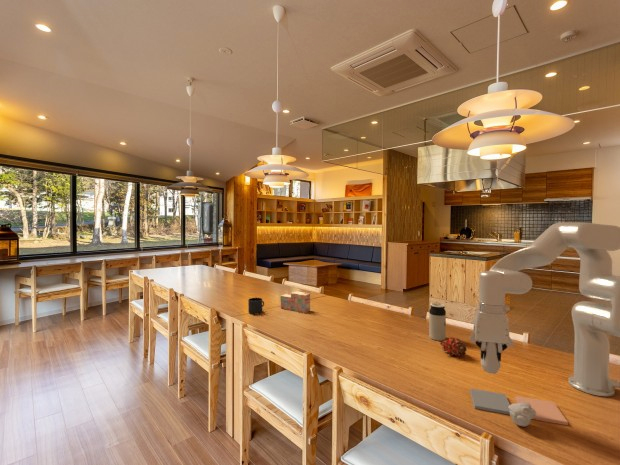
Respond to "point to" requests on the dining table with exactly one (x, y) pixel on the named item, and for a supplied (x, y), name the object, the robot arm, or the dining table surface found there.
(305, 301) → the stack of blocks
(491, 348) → the salt shaker
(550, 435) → the dining table surface
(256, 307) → the mug
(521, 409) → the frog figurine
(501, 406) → the slate tile
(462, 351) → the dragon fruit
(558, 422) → the terracotta tile
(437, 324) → the travel mug
